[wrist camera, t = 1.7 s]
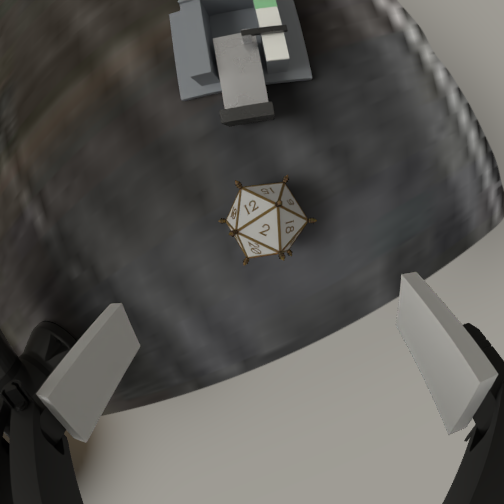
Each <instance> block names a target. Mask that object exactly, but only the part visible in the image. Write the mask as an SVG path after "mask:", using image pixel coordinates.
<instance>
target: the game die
mask: <svg viewBox="0 0 504 504" xmlns="http://www.w3.org/2000/svg"><path fill="white" fill-rule="evenodd" d="M288 180H289V178H288V175H287V176H285V177H284V179H283V182H279V183H270V184H261V185H253V186H245V187H242V184H241V183H240V182H238V181H236V180H235V183H236V185H235V186H237V187H238V188H239V189H240V190H239V192H238V194H237V196H236V199H235V201H234V203H233V205H232V208H231V210H230V212H229V214H228V217H227V219H224V218H223V219H222V218H221V219H220V220H219V222H220V223H227V225H228V226H229V228H230V230H231V231H230V233H229V235H230V236H232V237H235V239H236V240H237V242H238V244H239V245H240V247H241V249H242V251H243V252H244V254H245V256H246V258H245V259H244V261H243V263H244V265H246V264H248V262H249V258H255V257H262V256H269V255H276V254H279V257H280V258H279V259H282V260H283V261H284V259H285V255H284V253H283V252H286V251H287V253H288V255H290V256H292V251H291V250H289V249H290V247H291V246H292V244H293V243H294V242H295V240H296V239H297V237H298V236H299V234H300V233H301V231H302V230H303V229H304V227H305V226H306V224H307V223H308V222H309V223H313V224H314V222H316V221H317V220H316V219H314V218H310V219H308V218H307V217H306V215H305V213H304V212H303V210H302V209H301V207H300V206H299V204H298V202H297V201H296V199H295V198H294V196H293V195H292V193H291V191H290V190H289V188H288V187H287V185H286V182H288Z"/></svg>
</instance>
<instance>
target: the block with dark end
mask: <svg viewBox="0 0 504 504" xmlns="http://www.w3.org/2000/svg"><path fill="white" fill-rule="evenodd" d="M287 31H288V29H287V25H277V26H268V27H260V28H253V29H243V30H241V33H238V34H232V35H227V36H222V37H218V38H213V43H214V49H215V54H216V60H217V66H218V72H219V78H220V84H221V89H222V95H223V101H224V107H225V109H223V110H219V112H220V118H221V123H222V124H225V125H227V126H229V127H230V126H236V125H241V124H247V123H254V122H260V121H267V120H274V109H273V104H272V102H268V97H267V91H266V86H265V80H264V75H263V70H262V65H261V60H260V55H259V50H258V45H257V40H256V35H263V34H272V33H281V32H287Z"/></svg>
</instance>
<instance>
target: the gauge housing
mask: <svg viewBox="0 0 504 504" xmlns="http://www.w3.org/2000/svg"><path fill="white" fill-rule="evenodd" d="M178 3H179V4H180V11H179V12H175V13H172V14H169V15H170V24H171V32H172V40H173V48H174V56H175V63H176V70H177V77H178V84H179V90H180V96H181V100H182V101H187V100H191V99H195V98H199V97H203V96H208V95H212V94H217V93H221V92H222V89H221V84H220V78H219V72H218V66H217V60H216V54H215V49H214V43H213V38H218V37H222V36H227V35H232V34H238V33H241V30H243V29H253V28H260V27H268V26H277V25H287V29H288V31H287V32H281V33H272V34H263V35H256V40H257V45H258V50H259V55H260V60H261V65H262V70H263V75H264V80H265V85H268V84H276V83H285V82H295V81H306V80H312V74H311V69H310V64H309V60H308V55H307V51H306V46H305V42H304V38H303V34H302V30H301V26H300V22H299V19H298V15H297V11H296V8H295V4H294V1H293V0H178Z"/></svg>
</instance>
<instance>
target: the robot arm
mask: <svg viewBox="0 0 504 504" xmlns="http://www.w3.org/2000/svg"><path fill="white" fill-rule="evenodd" d="M396 326H397V328H398V330H399V332H400V333H401V335H402V337H403V339H404V341H405V343H406V344H407V347H408V348H409V350H410V352H411V354H412V356H413V358H414V360H415V362H416V364H417V366H418V368H419V370H420V372H421V374H422V376H423V378H424V380H425V382H426V384H427V387H428V389H429V391H430V393H431V395H432V397H433V399H434V402H435V404H436V406H437V409H438V411H439V413H440V415H441V418H442V420H443V423H444V425H445V427H446V430H447V432H448V435H450V434H452V433H454V432H457V431H459V430H462V429H464V428H466V427H467V425H468V424H469V422H470V421H471V419H472V418H473V419H474V421H475V423H476V425H475V426H474V427H473V429H472V430H471V432H470V433H469V434H468V436H467V437H466V439H465V441H468V439H469V438H470V440H469V443H468V446H467V449H466V451H465V454H464V457H463V459H462V462H461V465H460V467H459V470H458V472H457V474H456V476H455V479H454V481H453V483H452V485H451V487H450V490H449V492H448V494H447V496H446V498H445V500H444V502H443V503H442V504H504V361H503V359H502V358H501V357H500V356H499V354H498V353H497V351H496V350H495V349H494V348H493V347H491V344H490V342H489V341H488V340H486V337H485V336H484V335H483V334H482V332H480V330H479V329H478V328H476V327H475V326H473V325H471V324H470V323H467V324H464V325H462V324H461V323H460V322H459V320H458V319H457V318H456V317H455V315H454V314H453V313H452V312H451V311H450V310H449V308H448V307H447V306H446V305H445V304H444V302H443V301H442V300H441V299H440V298H439V297H438V295H437V294H436V293H435V292H434V291H433V290H432V289H431V288H430V286H429V285H428V284H427V283H426V282H425V281H424V280H423V279H422V278H421V277H420V276H419V274H418V273H417V272H412V273H406V274H401V286H400V296H399V304H398V312H397V320H396ZM139 348H140V344H139V342H138V340H137V337H136V335H135V333H134V331H133V328H132V326H131V324H130V321H129V319H128V317H127V314H126V312H125V310H124V307H123V305H122V303H112V304H110V305H109V306H108V307H107V308H106V309H105V310H104V311H103V312H102V313H101V315H100V316H99V317H98V318H97V319H96V320H95V321H94V323H93V324H92V325H91V326H90V327H89V328H88V330H87V331H86V332H85V333H84V334H83V335H82V337H81V338H80V339H79V340H78V341H76V340H75V339H74V338H73V337H72V336H71V335H70V334H69V333H68V332H66V331H65V330H64V329H62V328H61V327H59V326H58V325H56V324H54V323H51V322H47V321H44V322H41V323H39V324H38V325H37V326H36V327H35V328H34V329H33V331H32V333H31V335H30V338H29V340H28V342H27V345H26V347H25V350H24V352H23V354H22V355H21V356H20V357H18V356H17V355H16V353H15V352H14V350H13V349H12V347H11V346H10V344H9V342H8V341H7V339H6V338H5V336H4V335H3V333H2V331H1V330H0V504H83V501H82V498H81V494H80V491H79V488H78V484H77V481H76V476H75V472H74V468H73V464H72V460H71V455H70V450H69V444H68V440H67V437H66V436H65V435H64V432H65V431H66V430H67V431H68V432H69V433H70V434H71V436H72V437H73V438H75V439H78V440H81V441H83V442H87V440H88V439H89V437H90V435H91V433H92V431H93V429H94V428H95V426H96V424H97V422H98V420H99V418H100V416H101V414H102V413H103V411H104V409H105V407H106V405H107V404H108V402H109V400H110V398H111V396H112V395H113V393H114V391H115V389H116V388H117V386H118V384H119V382H120V380H121V379H122V377H123V375H124V374H125V372H126V370H127V368H128V367H129V365H130V363H131V362H132V360H133V358H134V356H135V355H136V353H137V351H138V350H139ZM3 432H4V433H5V434H6V435H7V436H8V437H9V438H10V444H9V443H8V442H7V441H6V440H5V439H4V438H3V437H2V436H3Z"/></svg>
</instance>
